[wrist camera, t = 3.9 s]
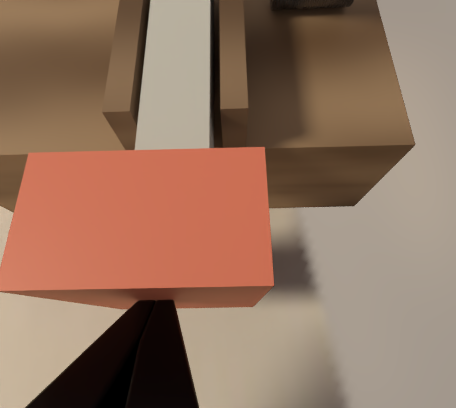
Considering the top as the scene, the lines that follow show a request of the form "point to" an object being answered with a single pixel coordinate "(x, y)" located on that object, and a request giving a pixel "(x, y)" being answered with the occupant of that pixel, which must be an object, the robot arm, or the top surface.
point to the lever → (309, 4)
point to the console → (223, 90)
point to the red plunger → (150, 196)
